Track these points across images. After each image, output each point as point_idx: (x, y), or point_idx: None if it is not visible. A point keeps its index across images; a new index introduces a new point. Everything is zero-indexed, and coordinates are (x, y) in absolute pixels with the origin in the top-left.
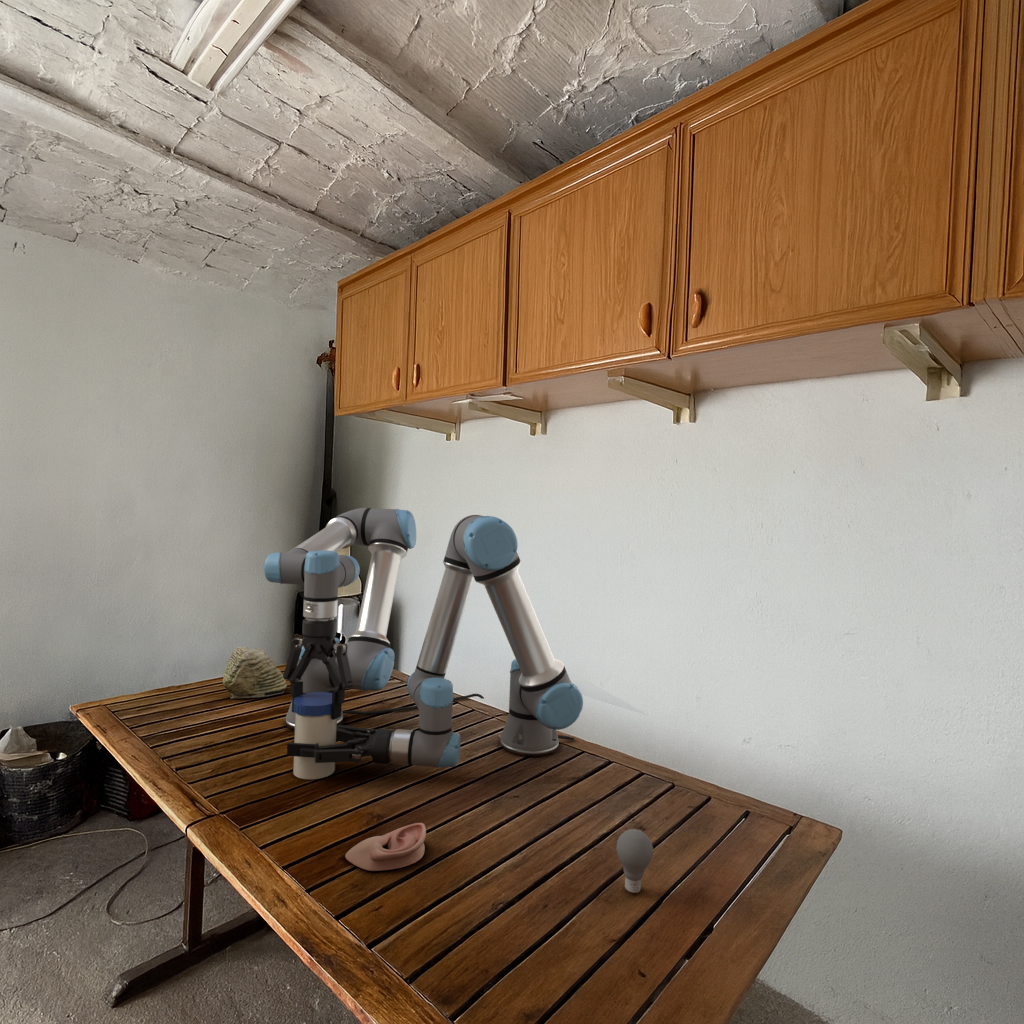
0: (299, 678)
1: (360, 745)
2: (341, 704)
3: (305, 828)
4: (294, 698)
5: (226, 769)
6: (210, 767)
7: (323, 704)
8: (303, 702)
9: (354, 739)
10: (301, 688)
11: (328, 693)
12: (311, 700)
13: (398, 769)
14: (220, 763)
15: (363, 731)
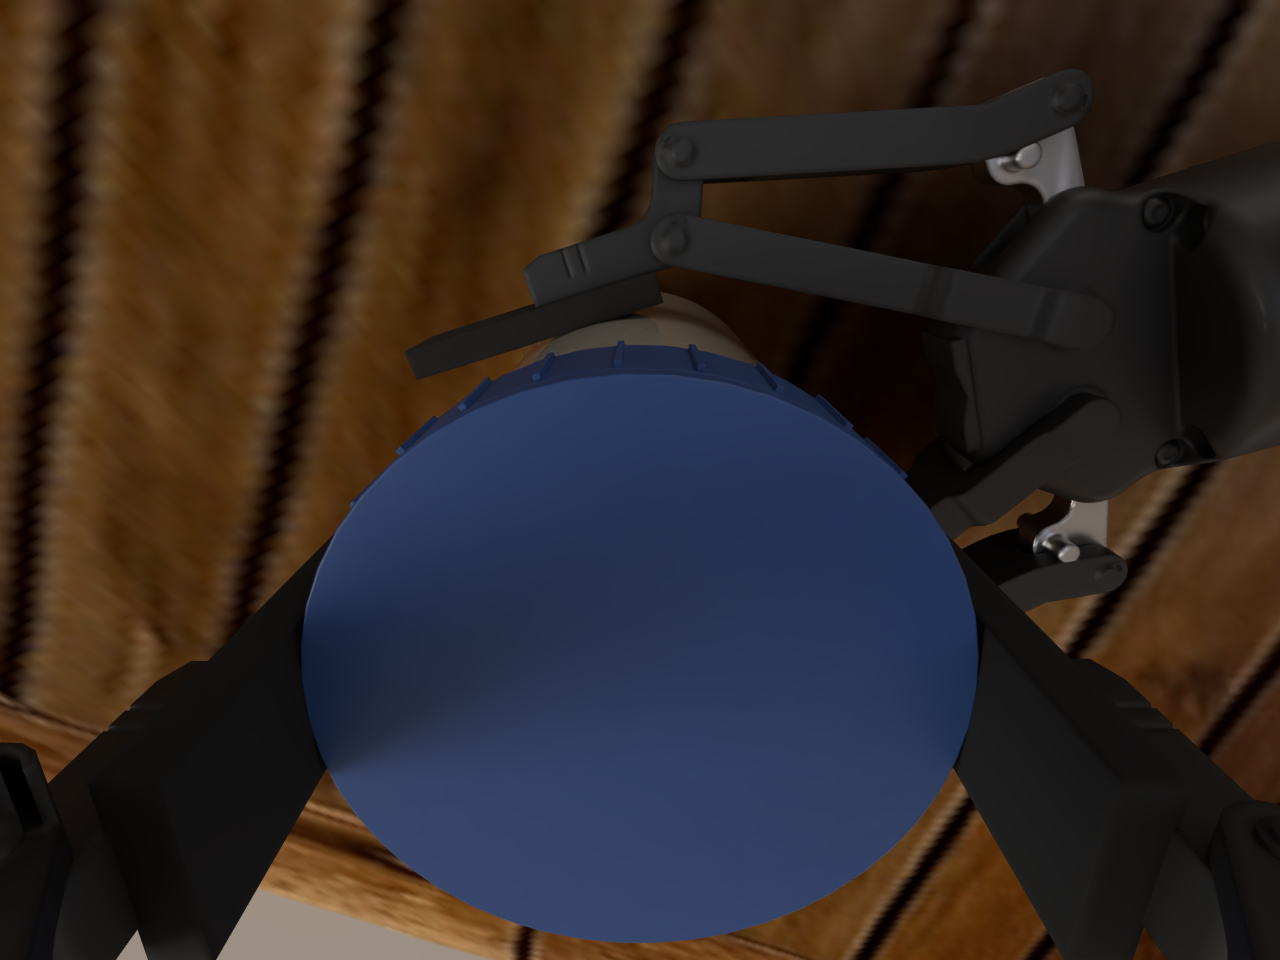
0: (53, 893)
1: (1080, 483)
2: (1010, 600)
3: (933, 849)
4: (320, 764)
5: (203, 598)
6: (112, 613)
7: (867, 841)
8: (579, 878)
9: (971, 386)
10: (243, 726)
11: (638, 425)
12: (619, 787)
13: (1149, 157)
14: (104, 557)
15: (965, 162)
